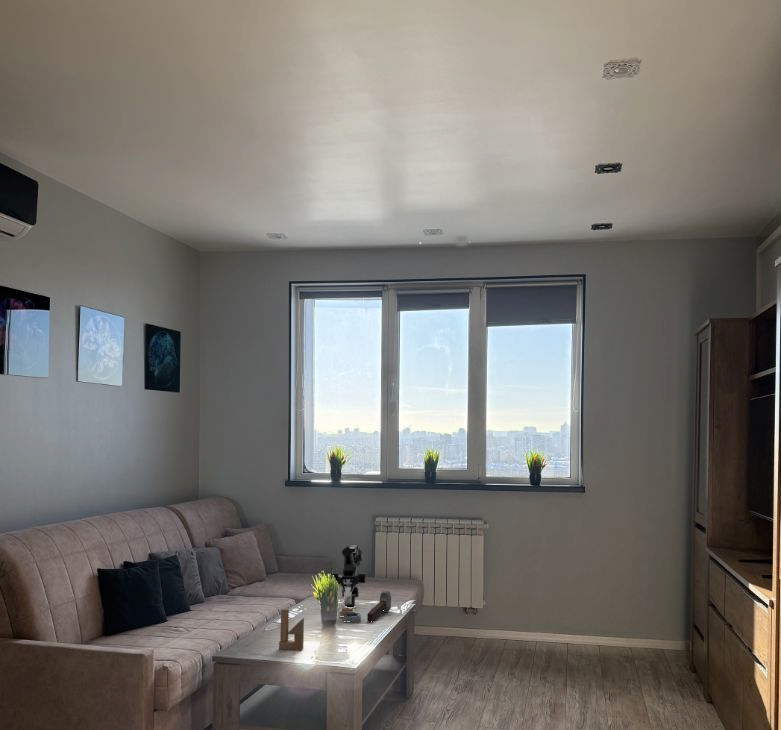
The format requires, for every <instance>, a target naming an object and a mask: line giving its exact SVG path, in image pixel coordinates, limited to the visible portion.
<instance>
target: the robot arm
mask: <svg viewBox="0 0 781 730" xmlns="http://www.w3.org/2000/svg"><path fill="white" fill-rule="evenodd" d="M341 551H342V552H341V556H342V560H343V567H342V568H343V569H342V574H339V573H338V572H331V574H332V575H334V577H335V578H336V580H337V581H338V582H337V584H338V585H339V586H340V587H341V594H342V595H341V598H344V587H345V586H346V579H350V586H351V587H352V599H351V604H349V605H346V604H344V605H345V606H347V607H354V606H355V605H356V598H359V596H360V595H359V592H360V591H359V588H358V586H357V585H358V584H365V583H366V573H364V572H357V571H358V567H360V566H361V565H362V562H363V551H362V550H361V549H360V547H359V545H357V544H356V545H354V544H351V545H348V546H347V545H346V546H345V547H344V548H343V549H342V550H341ZM357 573H358V575H357Z"/></svg>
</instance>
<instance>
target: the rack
mask: <svg viewBox="0 0 781 730" xmlns="http://www.w3.org/2000/svg"><path fill="white" fill-rule="evenodd" d="M355 610H356V608H355V609H347V608H340V609H339V617H340V616H344V613H356V611H355Z"/></svg>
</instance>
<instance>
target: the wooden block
mask: <svg viewBox="0 0 781 730" xmlns="http://www.w3.org/2000/svg"><path fill="white" fill-rule="evenodd" d="M289 619H290V610H289V608H285V607H284V608H281V609H280V638H279V641H278V650H284V651H294V652H298V651H299V652H301V651H303V650H304V641H305V639H304V636H305V618H304V617H303V618H302V619H300V620H299V621H298V622H297V624H295V625H294V627H292V628H291V629H290V630H289V623H290V622H289V621H290V620H289ZM289 635H294V638H293V640H290V639H289Z"/></svg>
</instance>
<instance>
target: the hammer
mask: <svg viewBox="0 0 781 730" xmlns="http://www.w3.org/2000/svg"><path fill="white" fill-rule="evenodd" d="M391 606H392V596H391V592H390V591H389V590H382V592H381V593H380V596H379V602H378V603H377V604H376V605H375V606H374V607H372V608H371V609H370V610H369V611H368V613H367V615H366V616H367V617H366V618H367V622H368V621H372V622H371V623H374V622H375V621H376V620H377V619H378V618H379V616H380V615H381V614H382V612H384V611H389V610H390V611H391ZM383 610H384V611H383ZM390 611H389V612H390ZM374 620H375V621H374ZM373 621H374V622H373Z"/></svg>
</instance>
